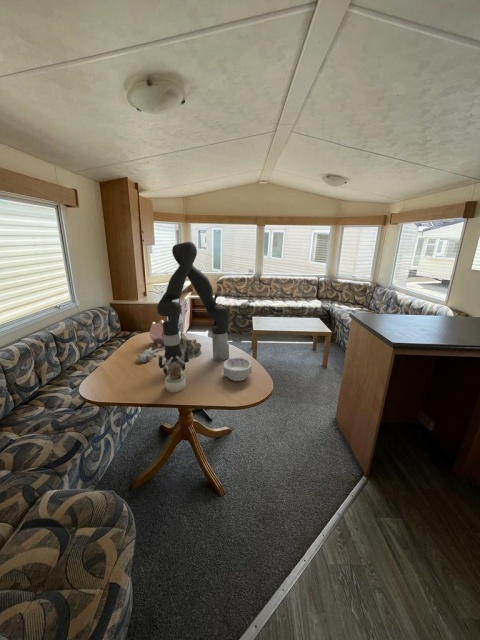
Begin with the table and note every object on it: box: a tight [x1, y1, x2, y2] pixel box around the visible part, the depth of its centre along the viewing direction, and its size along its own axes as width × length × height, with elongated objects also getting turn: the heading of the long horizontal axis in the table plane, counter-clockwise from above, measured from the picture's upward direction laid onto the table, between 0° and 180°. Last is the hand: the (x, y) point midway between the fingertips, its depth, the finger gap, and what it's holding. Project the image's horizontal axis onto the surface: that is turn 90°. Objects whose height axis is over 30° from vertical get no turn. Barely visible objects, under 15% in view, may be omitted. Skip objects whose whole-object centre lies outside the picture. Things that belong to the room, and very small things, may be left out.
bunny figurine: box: [137, 347, 160, 363], centre depth 163 cm, size 10×5×15 cm
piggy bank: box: [149, 319, 165, 348], centre depth 185 cm, size 15×18×16 cm
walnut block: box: [168, 364, 182, 381], centre depth 130 cm, size 4×4×6 cm
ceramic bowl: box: [164, 373, 187, 393], centre depth 131 cm, size 10×10×5 cm
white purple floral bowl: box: [223, 357, 253, 382], centre depth 140 cm, size 15×15×8 cm
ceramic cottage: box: [179, 331, 202, 360], centre depth 166 cm, size 16×16×15 cm
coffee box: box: [167, 340, 184, 372], centre depth 148 cm, size 9×6×16 cm
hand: (174, 372), depth 130 cm, fingers open, 8 cm apart
